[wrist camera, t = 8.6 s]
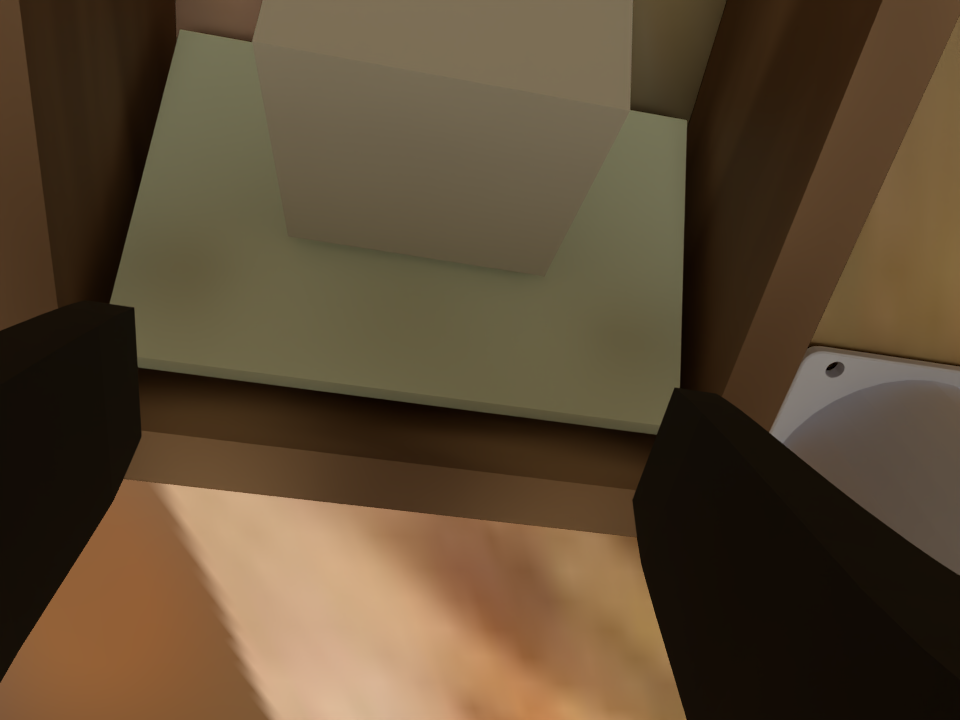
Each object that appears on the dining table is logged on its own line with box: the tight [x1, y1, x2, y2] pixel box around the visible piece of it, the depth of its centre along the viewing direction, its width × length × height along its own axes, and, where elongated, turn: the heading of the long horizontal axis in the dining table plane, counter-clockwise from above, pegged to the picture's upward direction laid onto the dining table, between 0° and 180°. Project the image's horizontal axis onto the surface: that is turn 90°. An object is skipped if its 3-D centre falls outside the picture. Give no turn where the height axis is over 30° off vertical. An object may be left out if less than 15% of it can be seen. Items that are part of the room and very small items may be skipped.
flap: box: [110, 29, 687, 435], centre depth 15 cm, size 11×7×1 cm
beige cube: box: [252, 0, 633, 276], centre depth 13 cm, size 5×5×5 cm
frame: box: [0, 0, 960, 537], centre depth 14 cm, size 14×14×7 cm
